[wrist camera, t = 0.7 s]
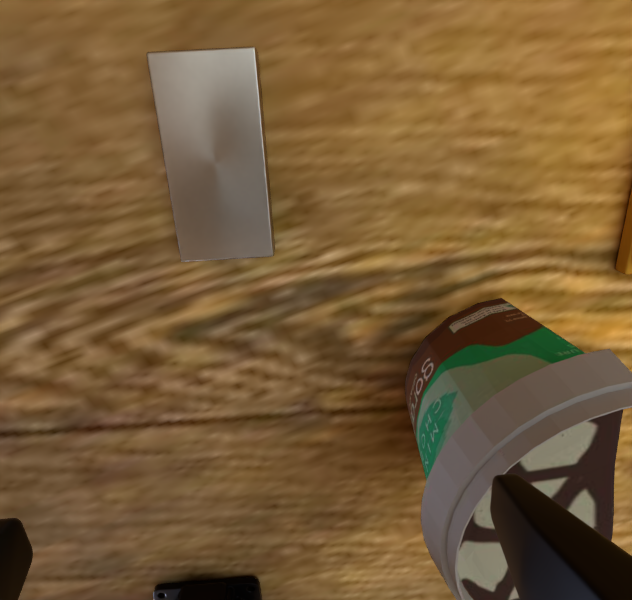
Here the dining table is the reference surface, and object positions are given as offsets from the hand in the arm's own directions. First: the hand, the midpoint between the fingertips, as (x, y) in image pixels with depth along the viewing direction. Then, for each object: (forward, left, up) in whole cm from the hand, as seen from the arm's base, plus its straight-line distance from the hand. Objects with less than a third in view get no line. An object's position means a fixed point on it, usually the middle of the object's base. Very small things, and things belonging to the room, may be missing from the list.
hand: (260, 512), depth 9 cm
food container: (-7, -8, -14) cm, 17 cm away
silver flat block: (+5, +2, -14) cm, 15 cm away
